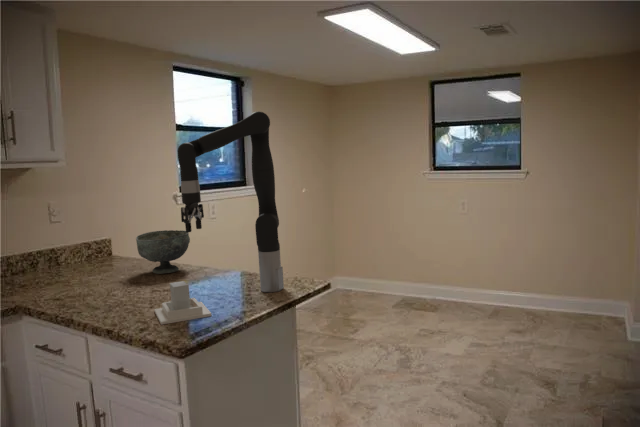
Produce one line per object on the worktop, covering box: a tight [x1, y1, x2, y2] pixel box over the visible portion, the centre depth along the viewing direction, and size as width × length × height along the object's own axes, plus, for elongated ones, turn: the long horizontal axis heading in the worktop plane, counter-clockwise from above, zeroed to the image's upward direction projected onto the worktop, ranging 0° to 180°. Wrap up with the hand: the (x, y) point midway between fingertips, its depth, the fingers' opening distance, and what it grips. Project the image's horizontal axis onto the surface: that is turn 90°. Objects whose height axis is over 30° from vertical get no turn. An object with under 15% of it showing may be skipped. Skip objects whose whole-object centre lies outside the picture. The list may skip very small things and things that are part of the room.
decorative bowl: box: [135, 230, 191, 275], centre depth 274 cm, size 27×26×20 cm
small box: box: [169, 280, 190, 311], centre depth 199 cm, size 8×6×10 cm
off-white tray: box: [153, 297, 212, 326], centre depth 199 cm, size 18×18×4 cm
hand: (194, 230), depth 220 cm, fingers open, 8 cm apart
